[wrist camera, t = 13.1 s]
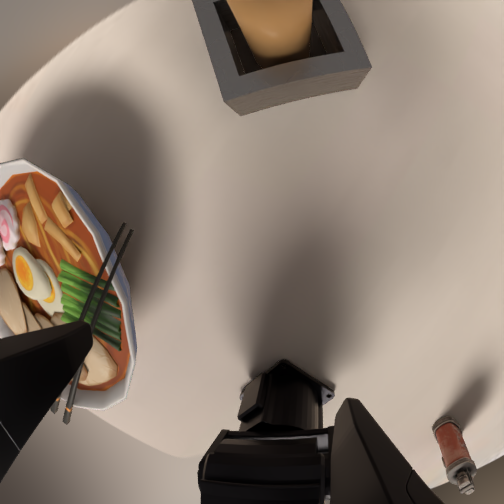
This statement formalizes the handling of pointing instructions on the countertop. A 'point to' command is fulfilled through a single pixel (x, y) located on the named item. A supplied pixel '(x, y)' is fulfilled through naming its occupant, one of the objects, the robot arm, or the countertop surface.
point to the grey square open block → (288, 74)
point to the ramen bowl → (65, 280)
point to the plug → (275, 29)
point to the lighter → (455, 454)
